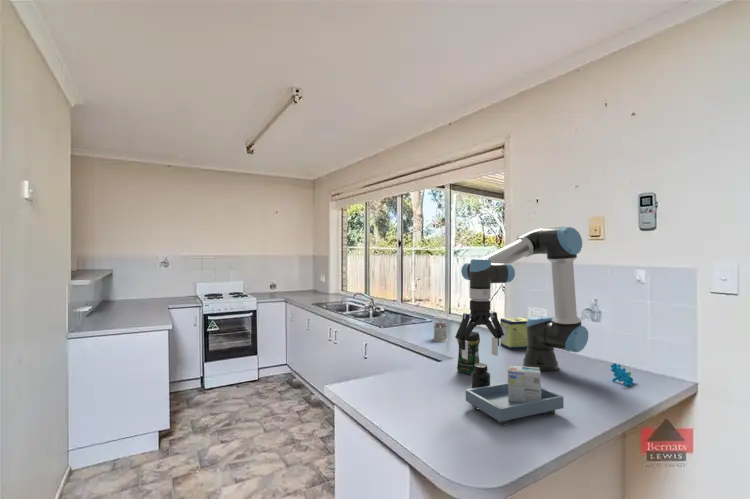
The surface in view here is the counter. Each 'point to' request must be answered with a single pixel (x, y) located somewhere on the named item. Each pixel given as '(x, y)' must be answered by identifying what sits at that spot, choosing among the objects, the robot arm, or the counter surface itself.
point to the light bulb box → (524, 384)
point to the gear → (621, 375)
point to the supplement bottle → (480, 376)
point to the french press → (440, 329)
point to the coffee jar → (469, 354)
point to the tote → (511, 402)
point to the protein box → (514, 333)
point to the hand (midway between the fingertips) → (480, 356)
